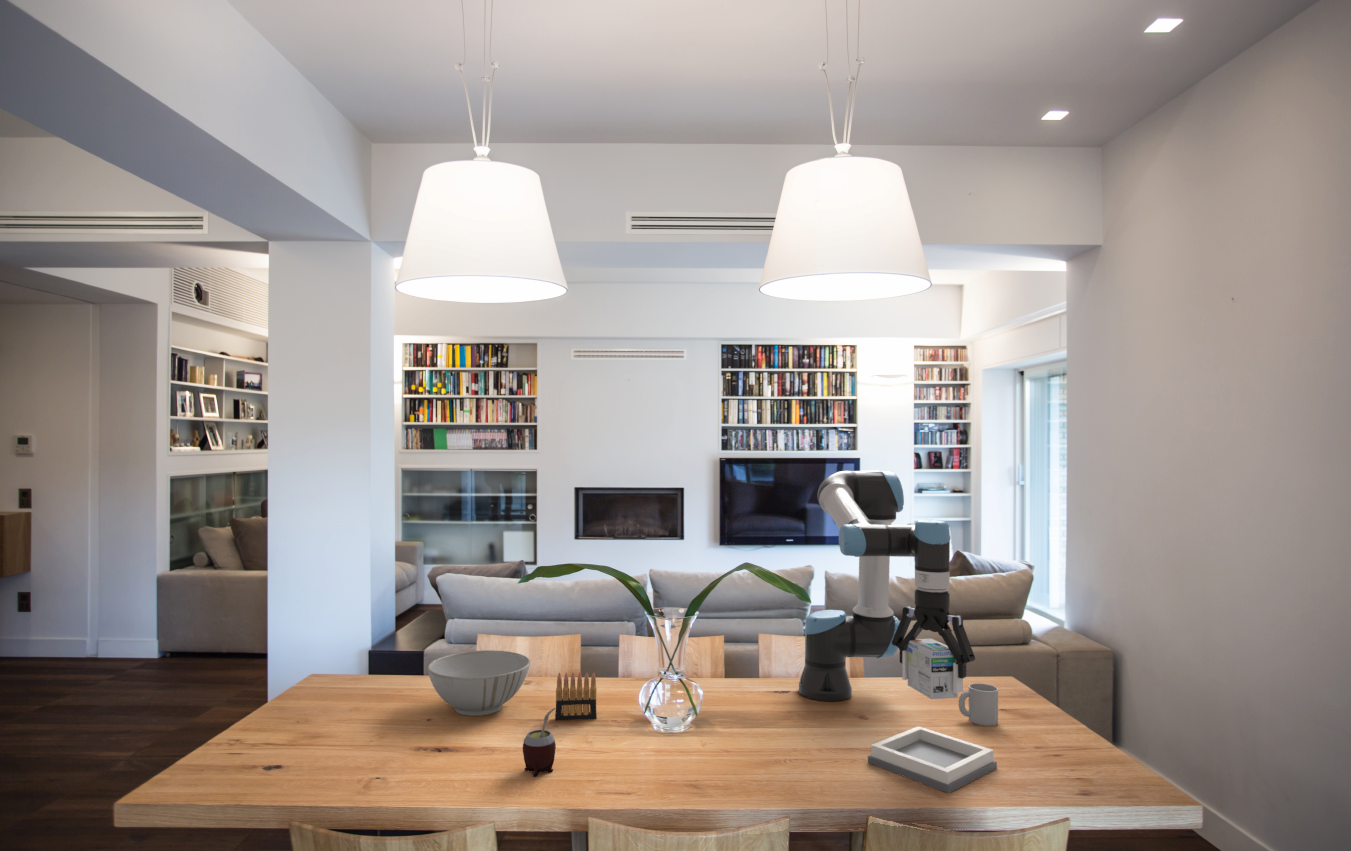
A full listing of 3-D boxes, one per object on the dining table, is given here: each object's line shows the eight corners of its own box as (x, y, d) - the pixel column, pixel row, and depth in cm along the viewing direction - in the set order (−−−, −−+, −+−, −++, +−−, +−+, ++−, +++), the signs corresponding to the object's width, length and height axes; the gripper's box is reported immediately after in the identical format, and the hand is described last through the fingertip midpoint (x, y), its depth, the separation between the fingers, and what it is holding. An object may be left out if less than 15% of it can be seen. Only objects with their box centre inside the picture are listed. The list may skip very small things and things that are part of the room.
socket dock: (867, 762, 176) (867, 744, 176) (917, 741, 188) (917, 725, 189) (948, 793, 160) (948, 773, 160) (996, 768, 173) (996, 750, 173)
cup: (1002, 727, 199) (1002, 691, 200) (963, 726, 200) (963, 691, 200) (992, 717, 207) (992, 683, 207) (954, 716, 207) (954, 682, 207)
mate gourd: (528, 763, 173) (529, 695, 173) (562, 765, 172) (563, 697, 173) (517, 777, 166) (518, 706, 166) (553, 779, 165) (554, 708, 165)
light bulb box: (958, 698, 170) (958, 649, 171) (931, 700, 169) (931, 650, 169) (932, 683, 181) (932, 637, 181) (906, 685, 179) (906, 638, 180)
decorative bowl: (517, 727, 196) (518, 678, 196) (411, 725, 196) (412, 676, 196) (538, 693, 222) (538, 650, 223) (445, 691, 223) (446, 649, 223)
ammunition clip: (555, 720, 200) (555, 674, 201) (555, 718, 202) (555, 671, 202) (596, 719, 202) (597, 672, 202) (596, 716, 204) (597, 670, 204)
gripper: (876, 583, 182) (876, 675, 182) (973, 599, 164) (974, 702, 163) (895, 580, 187) (895, 670, 187) (991, 595, 169) (991, 695, 168)
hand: (931, 685), depth 175 cm, fingers closed on light bulb box, 12 cm apart
